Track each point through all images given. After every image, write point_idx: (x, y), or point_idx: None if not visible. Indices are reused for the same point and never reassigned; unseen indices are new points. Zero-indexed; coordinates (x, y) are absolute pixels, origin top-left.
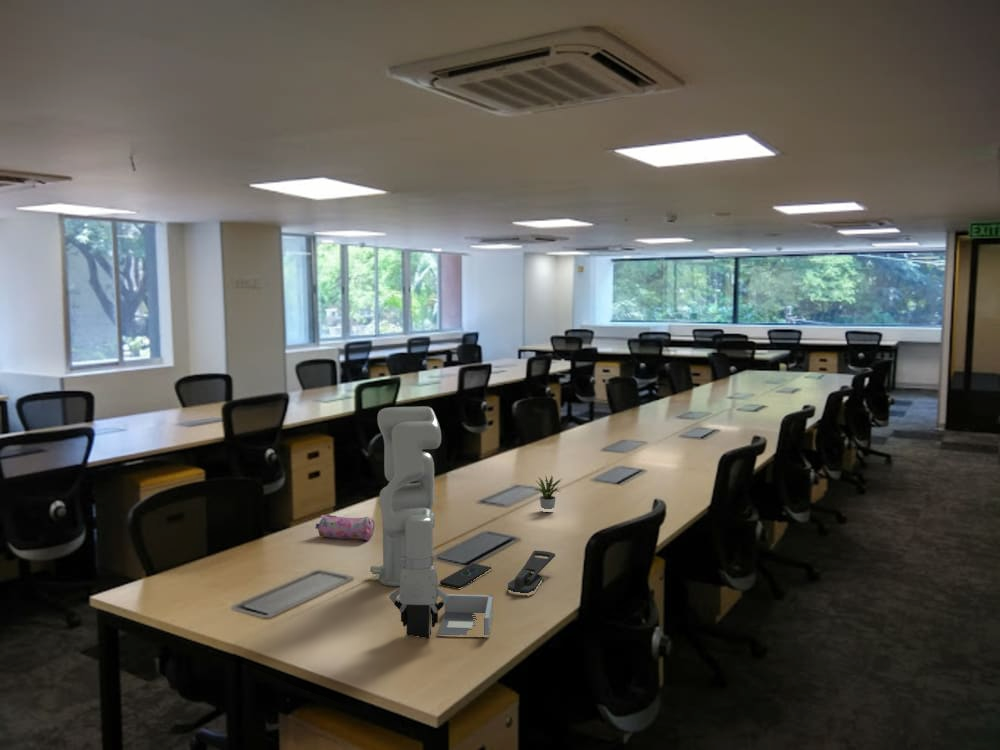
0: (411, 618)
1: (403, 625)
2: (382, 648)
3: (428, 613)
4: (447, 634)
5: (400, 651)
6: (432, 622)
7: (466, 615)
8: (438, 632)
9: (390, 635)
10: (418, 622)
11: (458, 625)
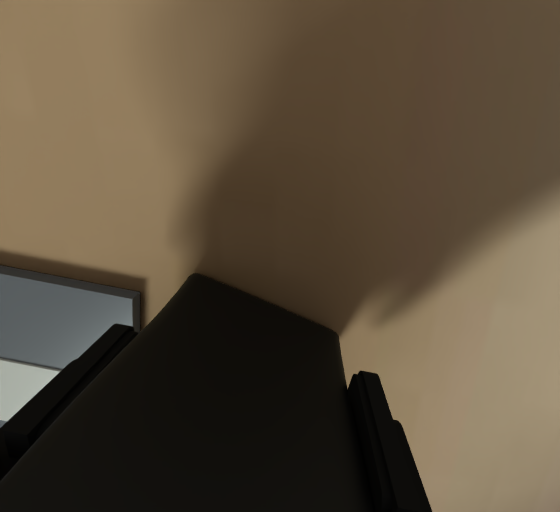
0: (305, 422)
1: (374, 377)
2: (543, 161)
3: (50, 426)
4: (65, 289)
5: (404, 85)
6: (103, 350)
7: None
8: (129, 325)
9: (440, 349)
10: (237, 368)
11: (26, 386)
